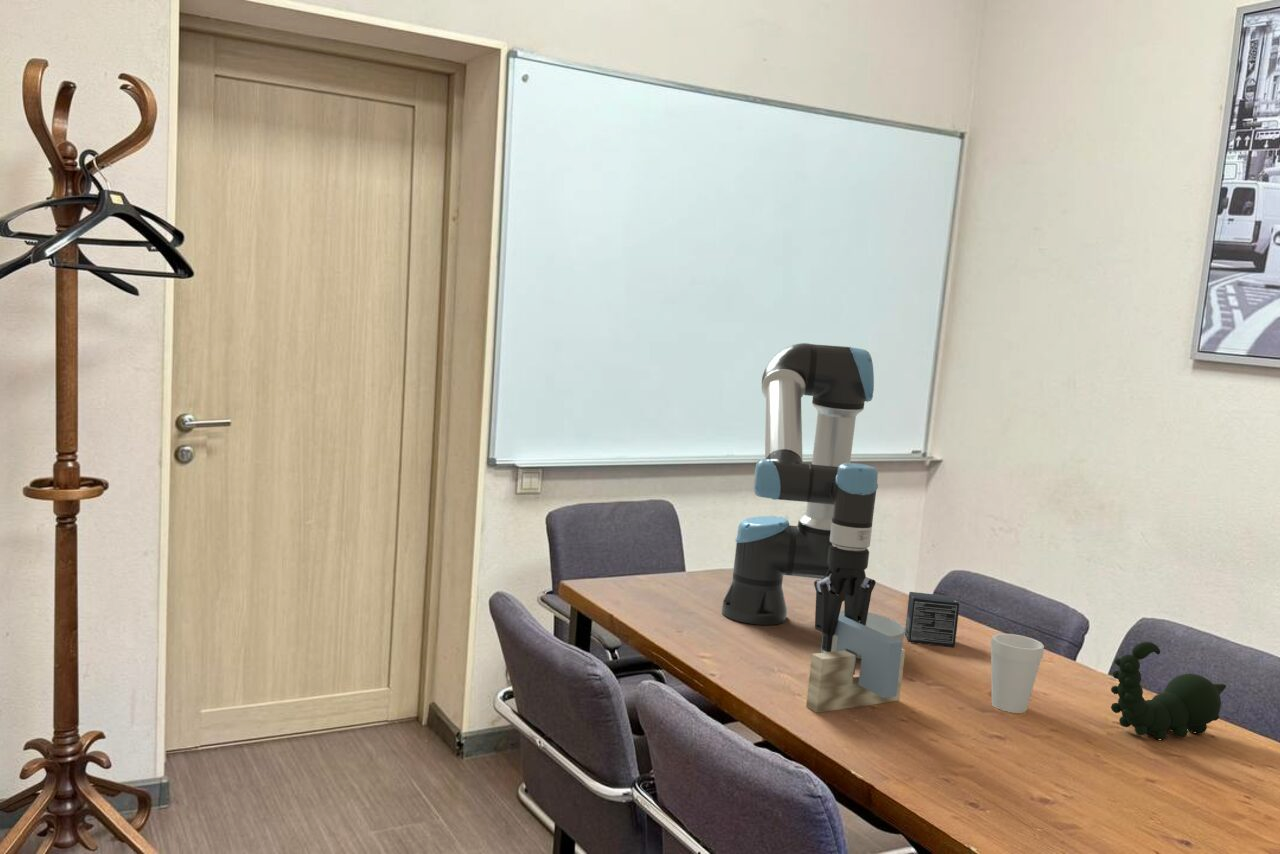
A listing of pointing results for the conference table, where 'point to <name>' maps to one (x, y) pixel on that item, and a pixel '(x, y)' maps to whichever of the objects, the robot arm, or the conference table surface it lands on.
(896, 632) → the cereal bowl
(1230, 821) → the conference table surface
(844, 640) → the blue-grey arch block
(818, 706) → the notched birch block
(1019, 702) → the foam cup
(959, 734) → the conference table surface
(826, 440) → the robot arm
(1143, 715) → the toy figurine
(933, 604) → the small box
